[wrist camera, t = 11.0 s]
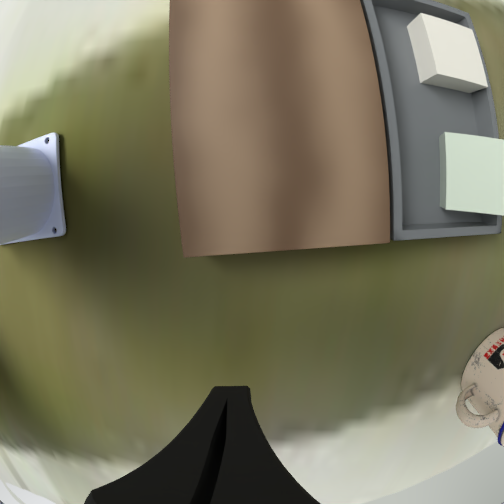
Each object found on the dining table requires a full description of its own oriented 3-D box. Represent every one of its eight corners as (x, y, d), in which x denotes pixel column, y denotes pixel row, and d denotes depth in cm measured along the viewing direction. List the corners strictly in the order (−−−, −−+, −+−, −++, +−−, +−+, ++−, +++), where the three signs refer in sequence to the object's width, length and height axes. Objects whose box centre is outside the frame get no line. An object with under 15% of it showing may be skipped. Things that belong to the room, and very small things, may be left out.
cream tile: (488, 87, 14) (469, 93, 16) (472, 29, 13) (456, 39, 15) (437, 73, 14) (420, 82, 16) (420, 12, 13) (406, 26, 15)
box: (378, 233, 19) (393, 240, 17) (349, 0, 15) (358, -17, 13) (482, 227, 19) (501, 233, 17) (454, 23, 15) (468, 13, 13)
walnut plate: (194, 246, 20) (183, 257, 17) (180, 6, 16) (170, -14, 13) (372, 234, 19) (389, 242, 16) (343, -1, 15) (353, -21, 12)
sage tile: (509, 216, 14) (497, 212, 16) (509, 140, 13) (497, 144, 15) (445, 209, 16) (439, 206, 18) (444, 131, 15) (438, 137, 17)
